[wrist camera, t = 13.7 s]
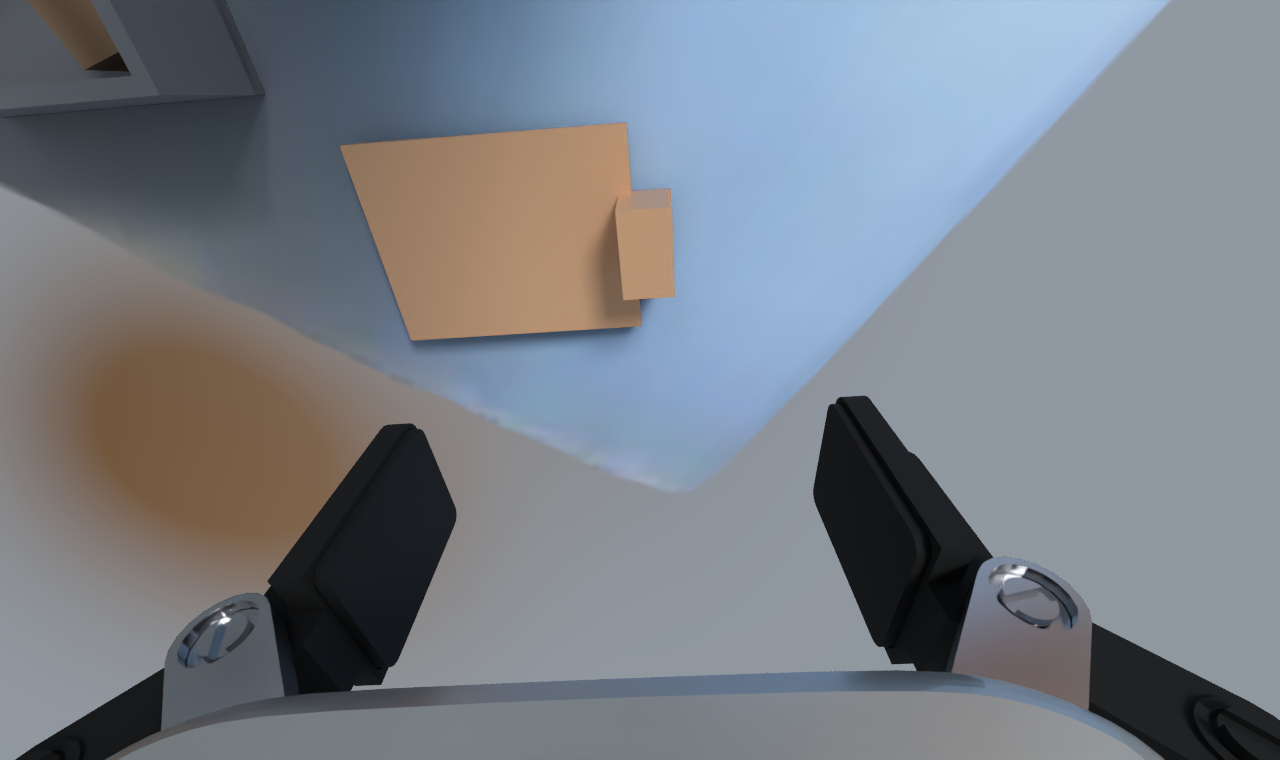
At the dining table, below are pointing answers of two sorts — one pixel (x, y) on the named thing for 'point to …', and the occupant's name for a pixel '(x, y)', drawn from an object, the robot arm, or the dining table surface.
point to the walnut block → (81, 33)
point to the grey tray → (124, 58)
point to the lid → (515, 230)
